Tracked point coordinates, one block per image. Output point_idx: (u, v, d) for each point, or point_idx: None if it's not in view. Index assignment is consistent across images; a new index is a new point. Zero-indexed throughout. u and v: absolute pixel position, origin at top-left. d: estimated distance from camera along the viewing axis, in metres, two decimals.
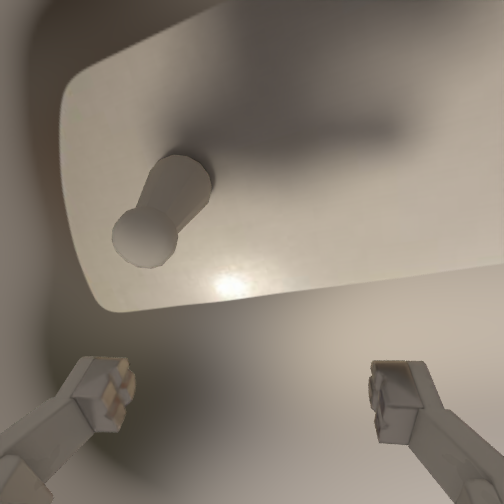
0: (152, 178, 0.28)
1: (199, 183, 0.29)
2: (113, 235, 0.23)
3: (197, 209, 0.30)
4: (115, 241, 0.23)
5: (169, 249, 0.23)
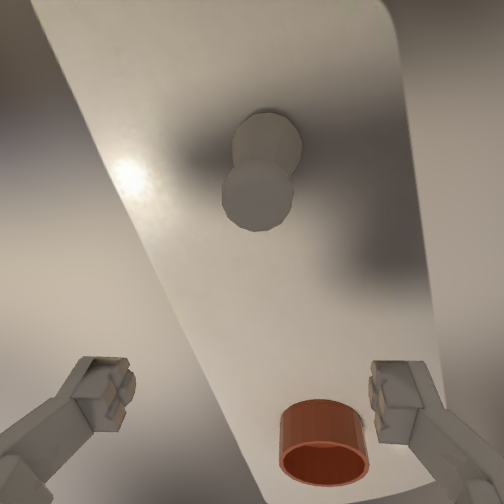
0: (291, 146, 0.25)
1: None
2: (267, 173, 0.19)
3: None
4: (261, 177, 0.19)
5: (251, 230, 0.21)
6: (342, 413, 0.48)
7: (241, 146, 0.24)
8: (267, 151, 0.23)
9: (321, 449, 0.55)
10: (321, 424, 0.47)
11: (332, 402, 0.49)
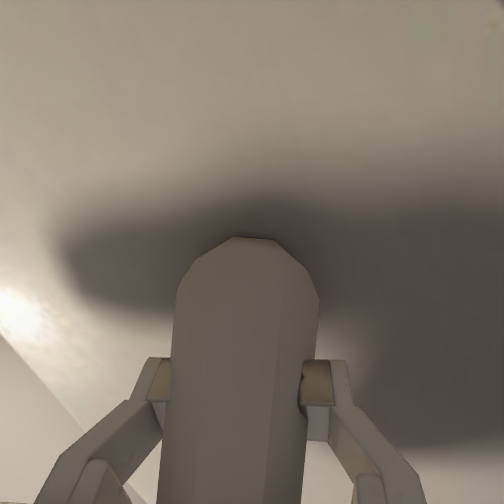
0: (302, 346, 0.11)
1: None
2: None
3: None
4: None
5: None
6: None
7: (183, 364, 0.10)
8: (246, 421, 0.08)
9: None
10: None
11: None
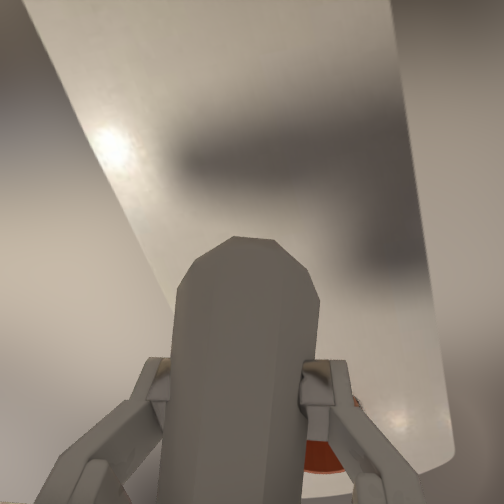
0: (302, 345, 0.11)
1: None
2: None
3: None
4: None
5: None
6: None
7: (184, 363, 0.10)
8: (246, 421, 0.08)
9: None
10: None
11: None
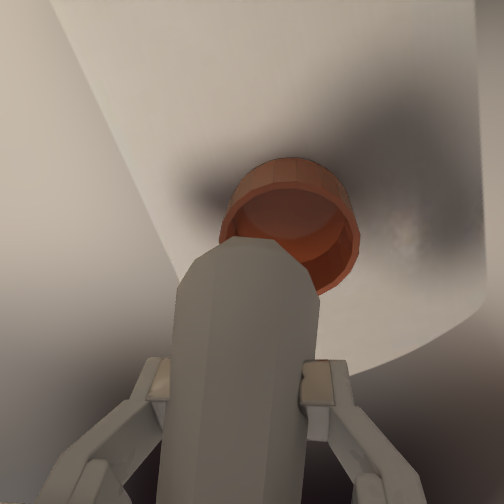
0: (302, 345, 0.11)
1: None
2: None
3: None
4: None
5: None
6: (317, 168, 0.31)
7: (183, 363, 0.10)
8: (246, 421, 0.08)
9: None
10: (282, 171, 0.29)
11: (302, 159, 0.32)
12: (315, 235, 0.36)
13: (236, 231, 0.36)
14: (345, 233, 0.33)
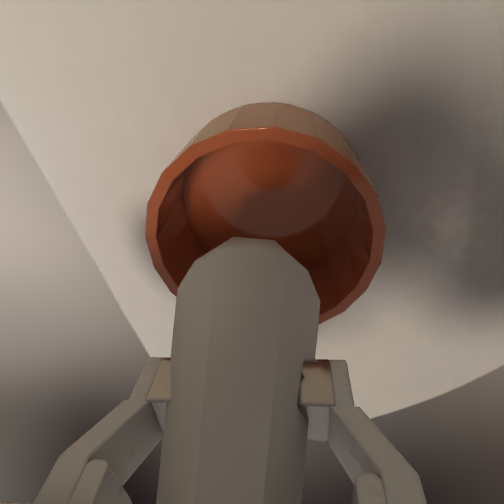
0: (303, 346, 0.11)
1: None
2: None
3: None
4: None
5: None
6: (311, 117, 0.18)
7: (184, 364, 0.10)
8: (246, 422, 0.08)
9: None
10: (250, 116, 0.17)
11: (288, 105, 0.19)
12: (309, 230, 0.23)
13: (188, 224, 0.23)
14: (356, 227, 0.21)
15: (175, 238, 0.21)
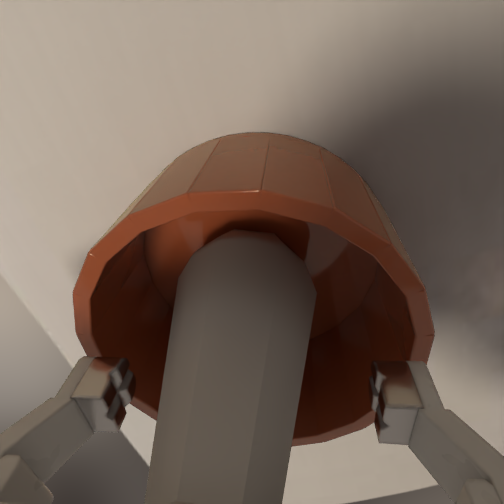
0: (295, 334, 0.11)
1: None
2: None
3: None
4: None
5: None
6: (320, 157, 0.13)
7: (180, 347, 0.10)
8: (236, 400, 0.09)
9: None
10: (227, 162, 0.11)
11: (286, 136, 0.14)
12: None
13: (153, 288, 0.18)
14: (380, 302, 0.15)
15: (129, 317, 0.15)
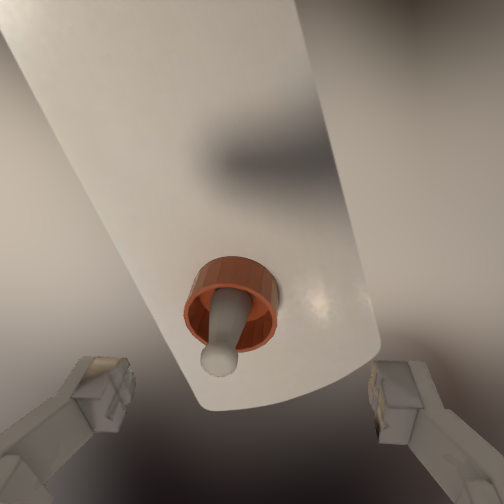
0: (242, 315, 0.44)
1: None
2: (222, 355, 0.38)
3: None
4: (219, 357, 0.38)
5: (216, 375, 0.40)
6: (250, 266, 0.46)
7: (213, 317, 0.44)
8: (226, 327, 0.42)
9: None
10: (224, 272, 0.44)
11: (242, 258, 0.47)
12: (255, 304, 0.50)
13: (199, 301, 0.51)
14: None
15: (194, 311, 0.48)
